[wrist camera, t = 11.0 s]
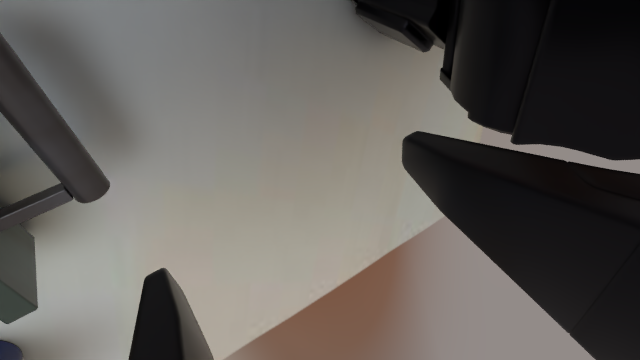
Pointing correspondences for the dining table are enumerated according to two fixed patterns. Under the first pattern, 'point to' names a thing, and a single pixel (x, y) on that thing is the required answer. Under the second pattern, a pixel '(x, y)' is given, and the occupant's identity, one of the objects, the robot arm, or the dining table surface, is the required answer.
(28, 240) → the drawer
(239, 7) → the dining table surface
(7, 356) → the tin
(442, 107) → the dining table surface
